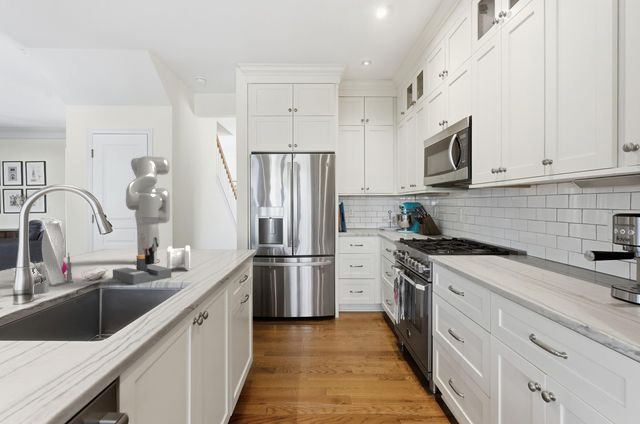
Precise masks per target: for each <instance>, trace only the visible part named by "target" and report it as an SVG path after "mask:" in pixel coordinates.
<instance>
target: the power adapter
mask: <svg viewBox="0 0 640 424" xmlns="http://www.w3.org/2000/svg"><path fill="white" fill-rule="evenodd" d="M36 263H37V262H34V267H31V268H30V270H31V269H32V272H33V274H34V273H35V272H34V269H35V268H36V269H37V271H38V272H39V273H40V274H42V275H44V276H46V280H45V281H44V282H43V283H41V284H37V285H35V286H34V293H35V294H34V295H42V294H47V293H49V292H50V286H49V277H48V273H46V268H45V266H43V264H42V263H43V262H42V260H40V266H36V265H37V264H36Z"/></svg>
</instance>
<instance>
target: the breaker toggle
mask: <svg viewBox="0 0 640 424" xmlns="http://www.w3.org/2000/svg"><path fill="white" fill-rule="evenodd" d="M136 261H137V264H136V266H137V270H140V271H144V272H147V264H145V255H138V254H137V255H136Z"/></svg>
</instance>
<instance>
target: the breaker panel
mask: <svg viewBox="0 0 640 424" xmlns="http://www.w3.org/2000/svg"><path fill="white" fill-rule="evenodd" d="M171 278H172V269H171V268H167V266H166V267H165V266H160V265H155V264H148V265H147V272H144V271H140V270H137V265H136V267H135V268H131V267H129V266H127V267H120V268H114V269H112V280H113V279H114V280H116V281H120V282H122V283H127V284H130V285H133V286H135V285H139V284H145V283H150V282H155V281H160V280H165V279H171Z"/></svg>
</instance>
